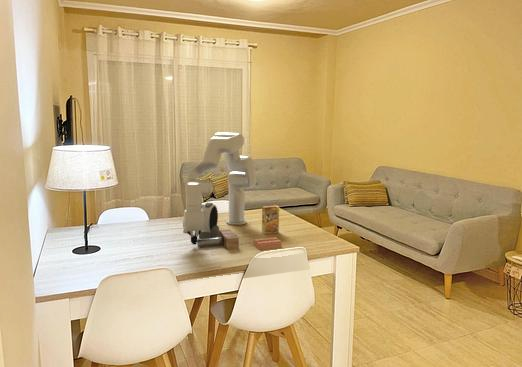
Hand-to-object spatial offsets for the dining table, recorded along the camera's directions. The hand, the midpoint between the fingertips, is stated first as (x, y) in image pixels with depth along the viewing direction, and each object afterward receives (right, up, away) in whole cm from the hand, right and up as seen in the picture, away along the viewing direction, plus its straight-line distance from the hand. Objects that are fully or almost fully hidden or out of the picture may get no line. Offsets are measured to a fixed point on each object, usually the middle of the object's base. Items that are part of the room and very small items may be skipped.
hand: (194, 243), depth 199 cm
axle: (+11, 0, +4) cm, 12 cm away
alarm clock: (+5, +1, +20) cm, 21 cm away
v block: (+36, -2, +5) cm, 37 cm away
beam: (+16, -1, +7) cm, 18 cm away
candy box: (+38, +2, +27) cm, 47 cm away
